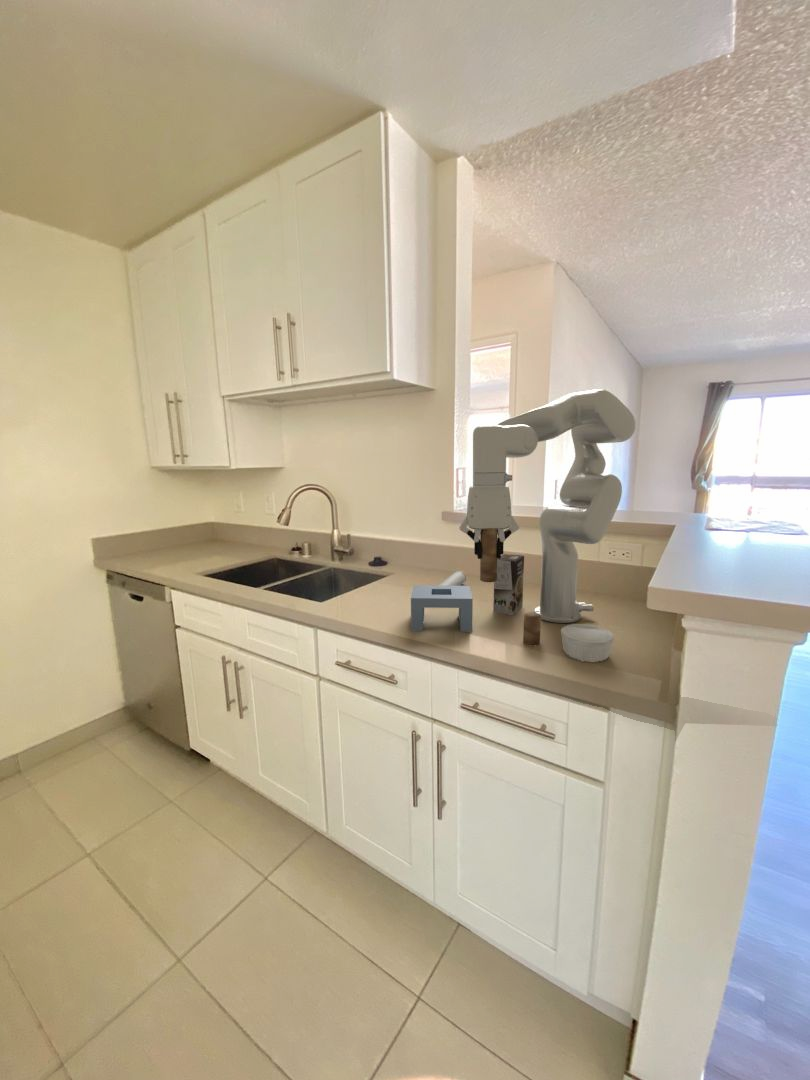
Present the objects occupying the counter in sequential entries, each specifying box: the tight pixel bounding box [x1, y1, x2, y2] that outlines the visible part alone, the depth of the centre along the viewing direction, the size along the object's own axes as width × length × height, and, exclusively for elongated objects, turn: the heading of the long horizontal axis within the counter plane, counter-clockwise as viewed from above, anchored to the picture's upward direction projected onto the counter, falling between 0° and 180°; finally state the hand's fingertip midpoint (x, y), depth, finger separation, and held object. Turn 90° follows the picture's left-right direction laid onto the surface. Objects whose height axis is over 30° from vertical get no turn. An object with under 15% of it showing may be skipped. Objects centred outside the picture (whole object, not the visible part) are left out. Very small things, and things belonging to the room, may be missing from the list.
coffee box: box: [492, 553, 525, 616], centre depth 129 cm, size 9×6×16 cm
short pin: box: [522, 611, 542, 647], centre depth 106 cm, size 4×4×7 cm
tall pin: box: [479, 528, 498, 583], centre depth 103 cm, size 4×4×14 cm
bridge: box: [410, 584, 474, 633], centre depth 119 cm, size 16×12×9 cm
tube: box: [437, 570, 467, 586], centre depth 147 cm, size 5×5×25 cm
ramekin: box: [560, 623, 615, 662], centre depth 99 cm, size 11×11×5 cm
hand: (488, 556), depth 104 cm, fingers closed on tall pin, 4 cm apart
